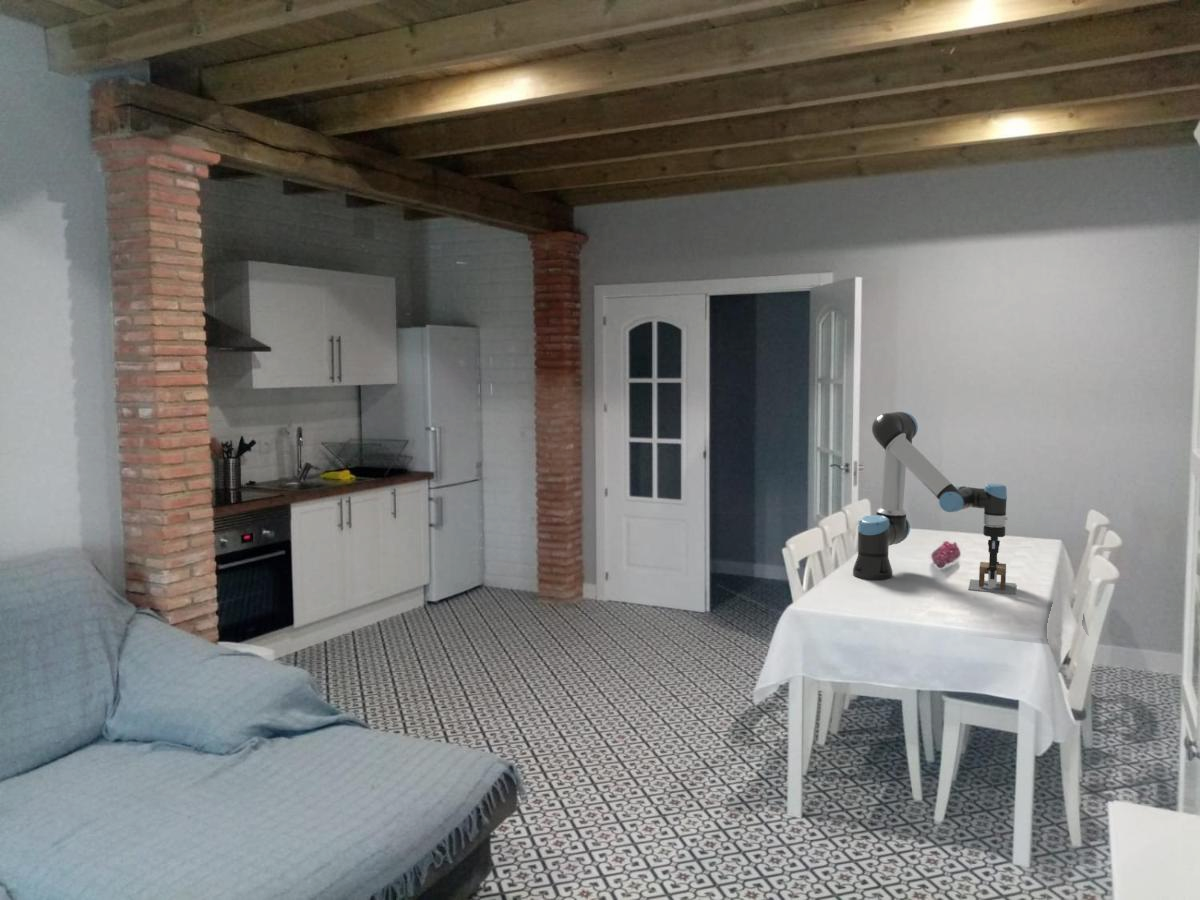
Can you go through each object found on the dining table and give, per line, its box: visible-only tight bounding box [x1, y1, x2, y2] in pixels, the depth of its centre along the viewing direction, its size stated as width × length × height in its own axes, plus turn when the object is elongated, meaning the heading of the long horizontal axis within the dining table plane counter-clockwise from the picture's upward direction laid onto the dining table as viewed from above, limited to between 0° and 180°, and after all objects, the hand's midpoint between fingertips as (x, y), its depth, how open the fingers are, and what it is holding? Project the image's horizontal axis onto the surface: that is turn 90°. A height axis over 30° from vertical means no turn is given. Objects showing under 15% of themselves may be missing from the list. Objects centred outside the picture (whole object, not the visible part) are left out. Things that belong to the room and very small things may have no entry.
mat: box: [968, 579, 1017, 595], centre depth 345 cm, size 16×16×1 cm
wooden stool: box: [978, 561, 1007, 589], centre depth 345 cm, size 9×9×8 cm
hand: (992, 584), depth 345 cm, fingers closed on wooden stool, 9 cm apart
